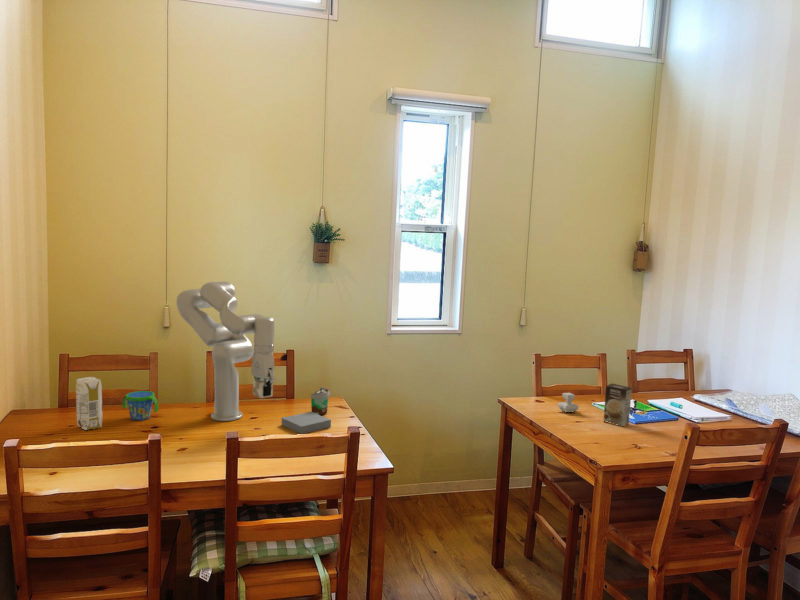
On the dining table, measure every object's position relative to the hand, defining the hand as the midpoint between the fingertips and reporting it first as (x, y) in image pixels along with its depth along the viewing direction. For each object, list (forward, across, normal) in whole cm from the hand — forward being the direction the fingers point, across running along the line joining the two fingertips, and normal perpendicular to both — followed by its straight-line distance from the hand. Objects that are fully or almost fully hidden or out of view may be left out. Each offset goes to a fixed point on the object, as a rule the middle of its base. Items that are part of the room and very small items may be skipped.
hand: (262, 393), depth 234 cm
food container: (+14, 0, +29) cm, 32 cm away
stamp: (+12, +65, +118) cm, 135 cm away
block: (+1, 0, 0) cm, 1 cm away
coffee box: (+11, +87, +120) cm, 149 cm away
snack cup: (+15, -39, -33) cm, 53 cm away
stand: (+13, +10, +14) cm, 22 cm away
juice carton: (+15, -39, -52) cm, 67 cm away
